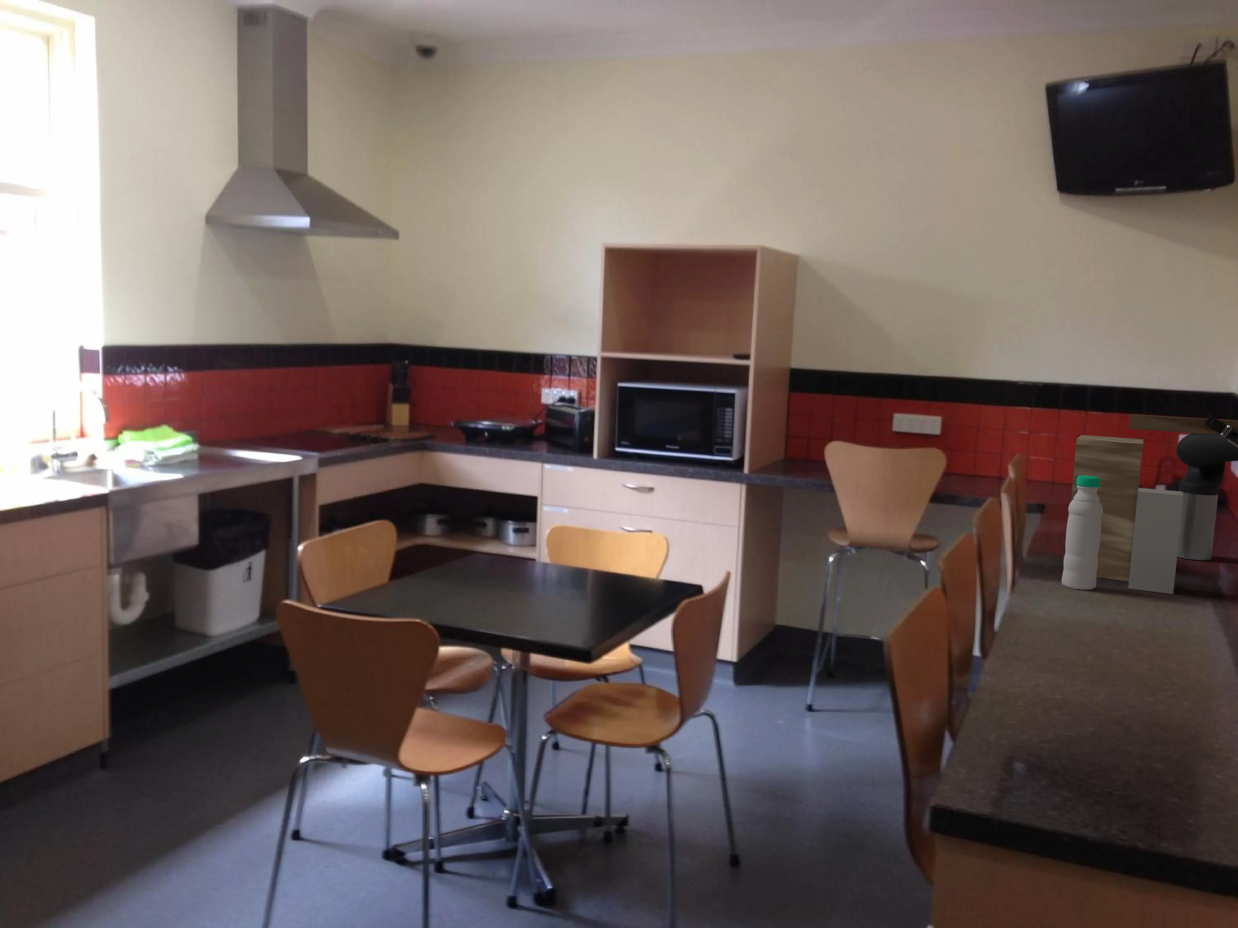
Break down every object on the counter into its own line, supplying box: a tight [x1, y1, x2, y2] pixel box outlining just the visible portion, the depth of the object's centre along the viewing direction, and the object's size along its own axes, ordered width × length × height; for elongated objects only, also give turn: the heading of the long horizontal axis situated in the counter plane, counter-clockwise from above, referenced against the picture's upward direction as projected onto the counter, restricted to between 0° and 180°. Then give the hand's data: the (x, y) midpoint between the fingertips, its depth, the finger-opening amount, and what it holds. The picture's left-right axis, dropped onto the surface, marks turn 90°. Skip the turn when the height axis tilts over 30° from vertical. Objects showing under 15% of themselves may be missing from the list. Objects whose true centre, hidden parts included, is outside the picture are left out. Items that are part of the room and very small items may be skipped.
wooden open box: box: [1070, 434, 1145, 582], centre depth 260 cm, size 18×14×32 cm
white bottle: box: [1061, 475, 1103, 591], centre depth 240 cm, size 7×7×25 cm
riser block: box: [1128, 487, 1183, 595], centre depth 243 cm, size 8×9×22 cm
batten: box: [1128, 413, 1238, 435], centre depth 243 cm, size 3×22×3 cm, turn 65°
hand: (1207, 419), depth 241 cm, fingers closed on batten, 3 cm apart
